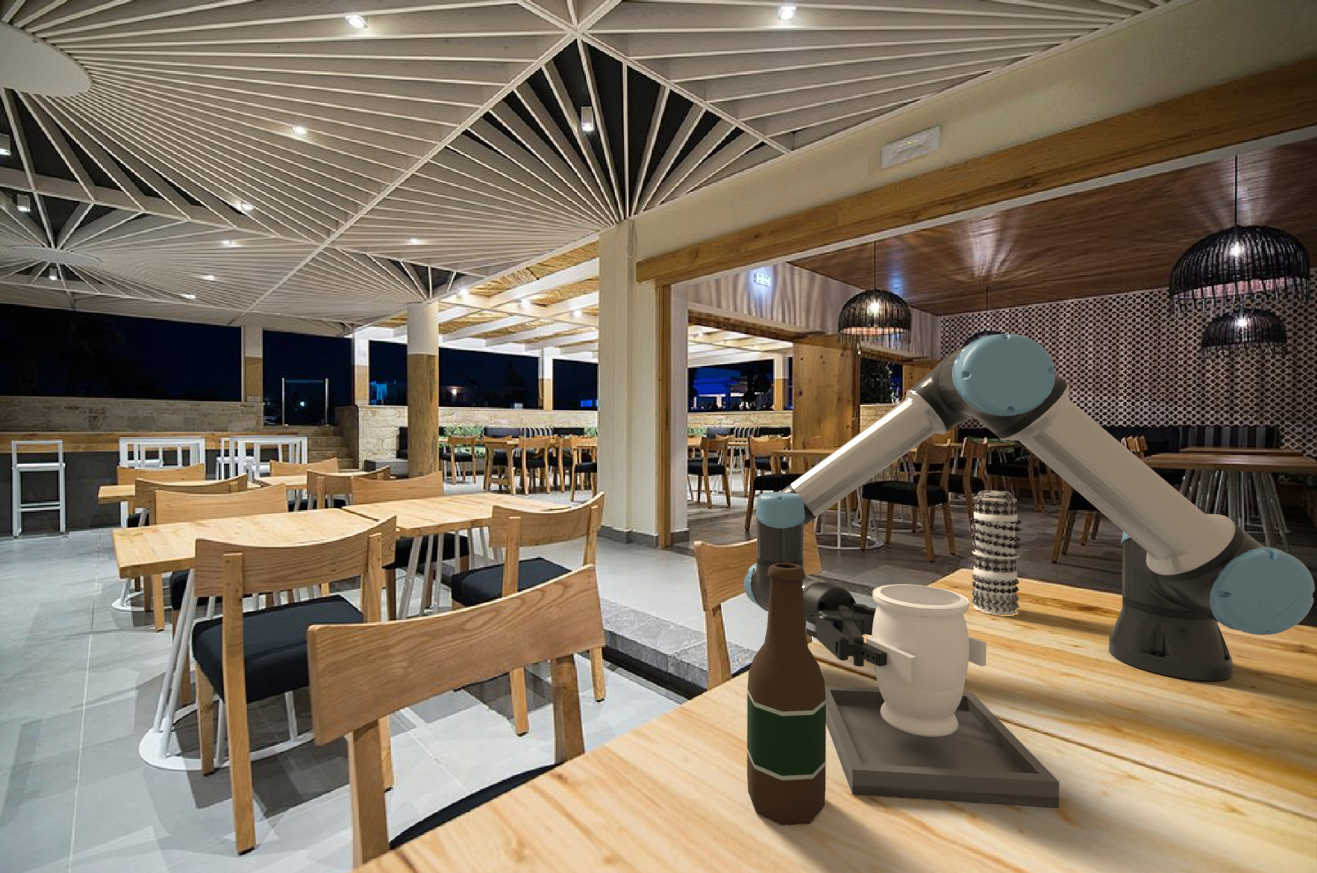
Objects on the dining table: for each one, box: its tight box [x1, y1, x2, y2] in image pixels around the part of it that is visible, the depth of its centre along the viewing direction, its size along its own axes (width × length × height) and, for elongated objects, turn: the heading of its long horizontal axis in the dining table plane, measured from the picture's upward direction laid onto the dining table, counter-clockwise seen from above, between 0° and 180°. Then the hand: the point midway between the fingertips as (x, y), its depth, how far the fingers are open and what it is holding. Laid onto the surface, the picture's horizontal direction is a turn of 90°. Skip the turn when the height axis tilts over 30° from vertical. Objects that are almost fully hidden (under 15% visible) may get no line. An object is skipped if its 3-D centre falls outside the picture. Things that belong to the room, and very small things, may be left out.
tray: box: [825, 685, 1060, 808], centre depth 69 cm, size 20×20×3 cm
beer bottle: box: [746, 563, 827, 826], centre depth 59 cm, size 8×8×24 cm
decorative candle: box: [970, 490, 1022, 615], centre depth 122 cm, size 9×9×25 cm
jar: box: [871, 583, 970, 737], centre depth 69 cm, size 11×10×15 cm
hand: (949, 661), depth 65 cm, fingers closed on jar, 10 cm apart
